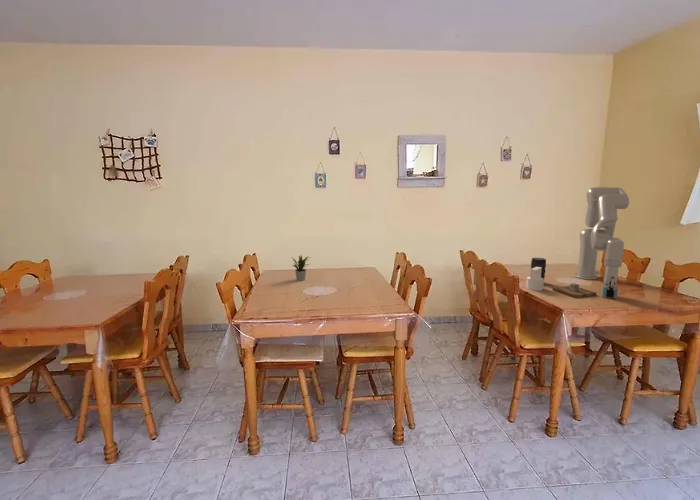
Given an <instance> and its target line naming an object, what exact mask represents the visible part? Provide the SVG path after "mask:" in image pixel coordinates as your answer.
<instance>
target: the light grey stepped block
mask: <svg viewBox="0 0 700 500" xmlns="http://www.w3.org/2000/svg"><path fill="white" fill-rule="evenodd" d="M541 270H542V267H535V268H532V269H531V268H530V273H531V274H530V273H529V274H530V275H529V276H527V277H526V285H525V288H526V289H527V290H531V291H543V290H544V286H545V285H544V284H545V278H544V279H543V278H541Z"/></svg>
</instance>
